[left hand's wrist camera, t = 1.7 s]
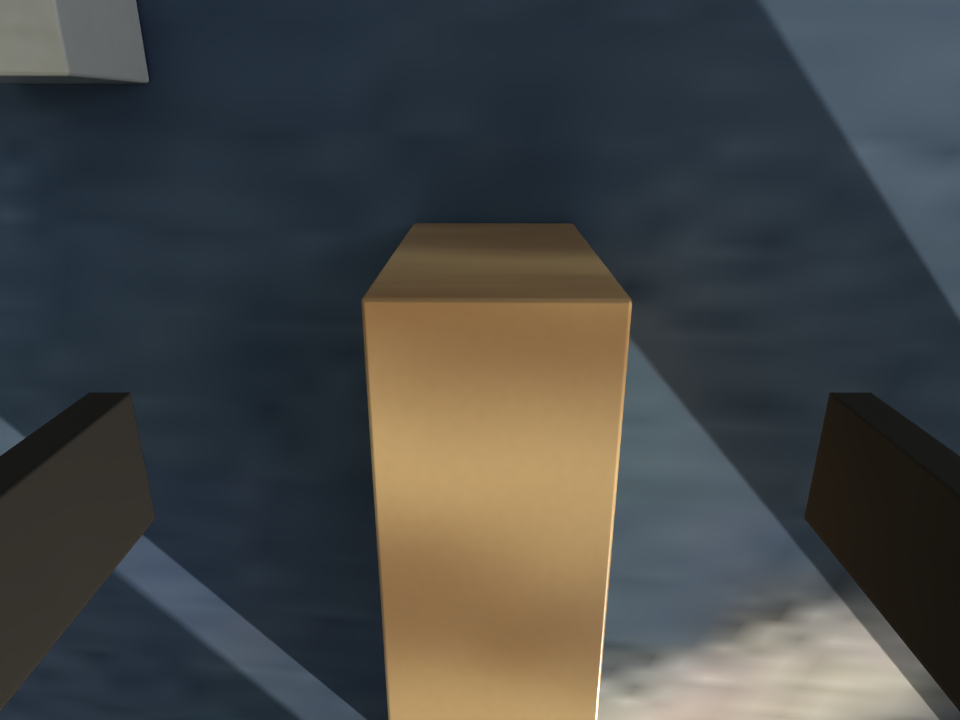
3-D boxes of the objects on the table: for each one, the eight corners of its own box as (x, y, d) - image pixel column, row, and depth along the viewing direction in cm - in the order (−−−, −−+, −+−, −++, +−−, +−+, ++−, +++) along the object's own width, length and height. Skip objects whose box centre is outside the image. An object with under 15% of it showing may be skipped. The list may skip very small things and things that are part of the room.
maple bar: (413, 222, 20) (359, 298, 12) (574, 223, 20) (633, 299, 12) (432, 775, 29) (409, 1048, 20) (546, 777, 29) (570, 1051, 20)
